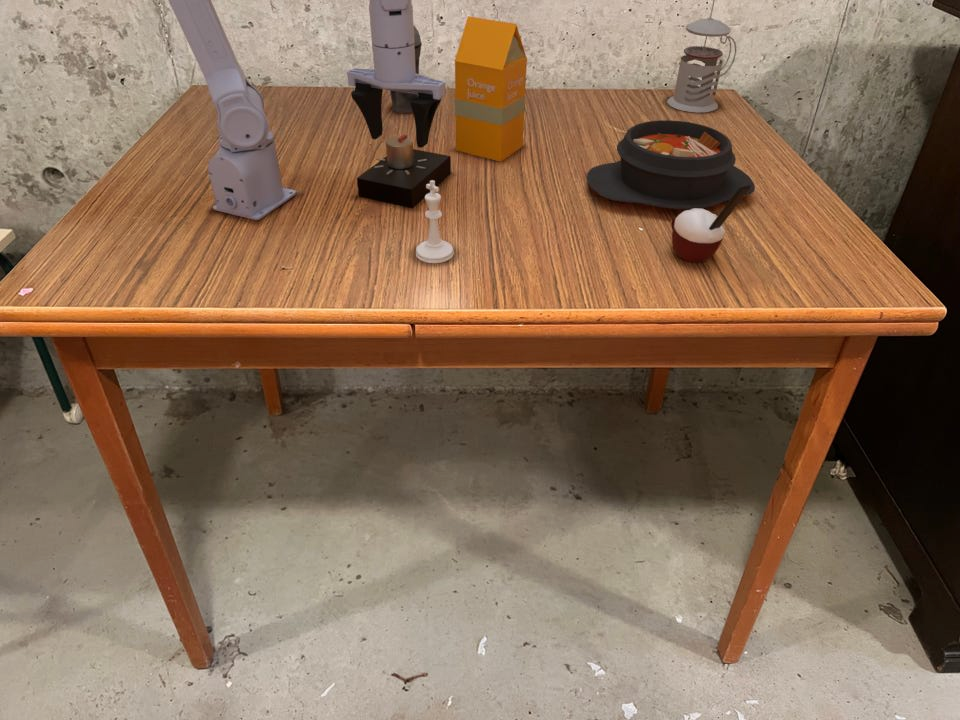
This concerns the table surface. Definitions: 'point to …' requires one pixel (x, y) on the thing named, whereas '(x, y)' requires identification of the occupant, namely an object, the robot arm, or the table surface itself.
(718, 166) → the casserole
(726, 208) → the rice bowl
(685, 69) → the french press
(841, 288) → the table surface
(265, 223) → the table surface
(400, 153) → the knob
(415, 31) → the beverage cup
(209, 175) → the robot arm
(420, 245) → the chess piece
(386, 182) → the hob panel
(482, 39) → the orange juice
